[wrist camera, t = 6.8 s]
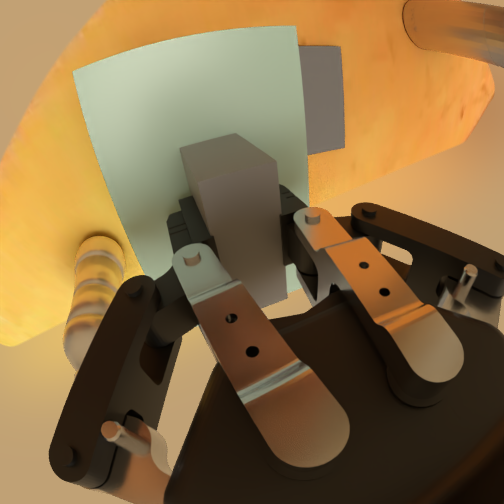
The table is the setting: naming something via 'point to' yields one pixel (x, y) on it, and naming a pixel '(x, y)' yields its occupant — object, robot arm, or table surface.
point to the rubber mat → (323, 97)
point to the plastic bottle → (92, 293)
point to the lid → (204, 145)
